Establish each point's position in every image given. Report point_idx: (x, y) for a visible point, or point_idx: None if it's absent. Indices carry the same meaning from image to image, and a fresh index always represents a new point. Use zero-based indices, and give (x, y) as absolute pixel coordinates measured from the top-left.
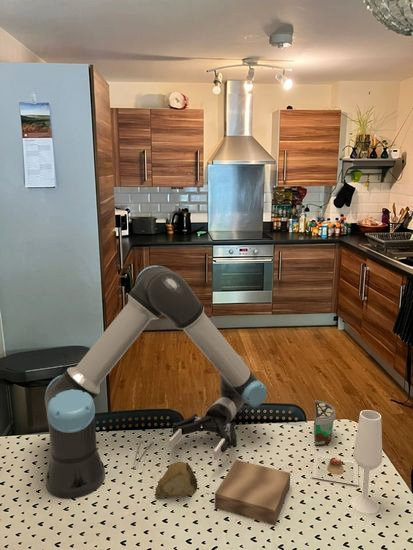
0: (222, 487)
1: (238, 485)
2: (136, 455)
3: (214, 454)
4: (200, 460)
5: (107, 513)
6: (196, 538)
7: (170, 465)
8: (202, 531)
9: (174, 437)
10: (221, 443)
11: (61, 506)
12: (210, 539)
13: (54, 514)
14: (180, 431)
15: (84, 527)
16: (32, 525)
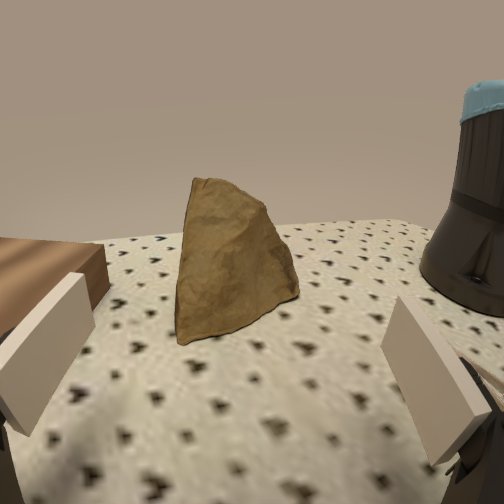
0: (79, 258)
1: (30, 267)
2: (495, 382)
3: (84, 294)
4: (225, 499)
5: (345, 250)
6: (147, 241)
7: (261, 204)
8: (137, 250)
9: (416, 326)
10: (18, 327)
11: (419, 249)
12: (121, 243)
13: (408, 241)
14: (459, 404)
15: (349, 234)
16: (407, 231)
